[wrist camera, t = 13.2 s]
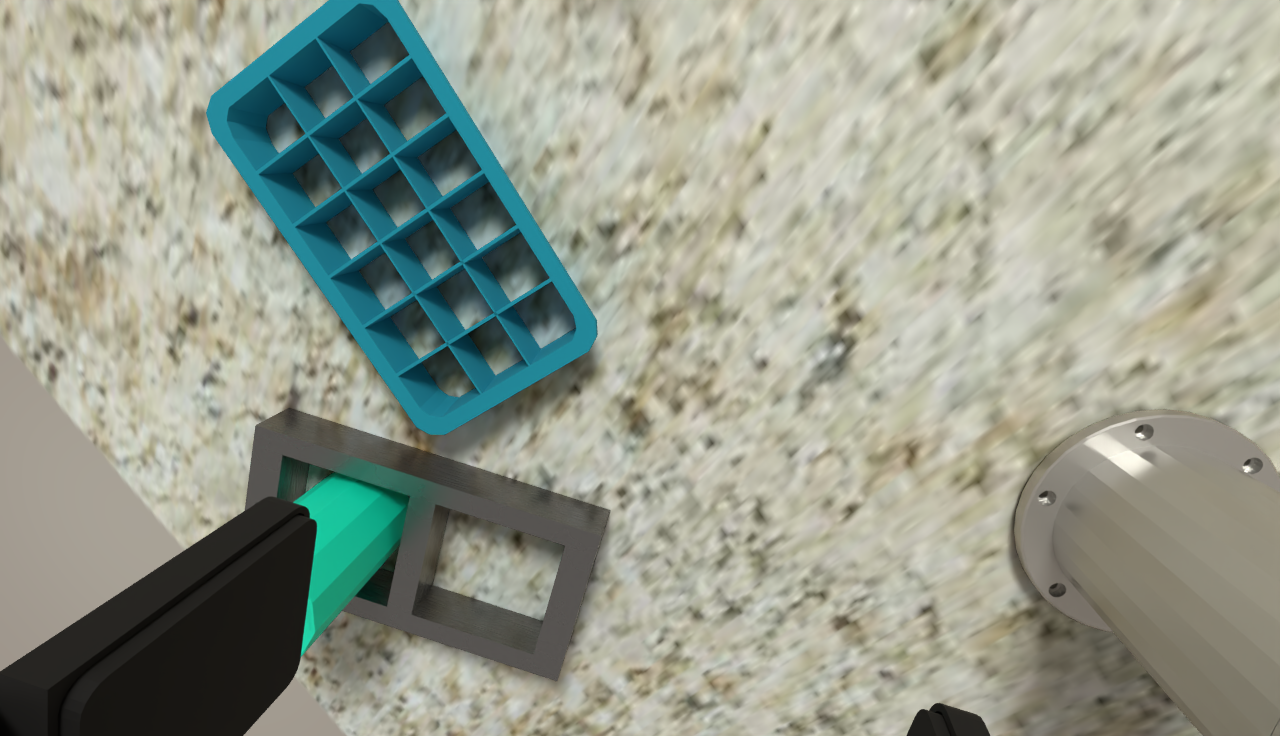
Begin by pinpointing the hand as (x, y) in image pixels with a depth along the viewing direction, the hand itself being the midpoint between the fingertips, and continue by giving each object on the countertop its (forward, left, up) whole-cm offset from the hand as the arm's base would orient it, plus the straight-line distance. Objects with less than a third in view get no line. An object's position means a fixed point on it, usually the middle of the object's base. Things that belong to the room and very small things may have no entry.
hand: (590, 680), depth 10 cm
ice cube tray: (+15, -1, -28) cm, 32 cm away
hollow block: (+11, +17, -27) cm, 34 cm away
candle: (+15, +17, -27) cm, 36 cm away
